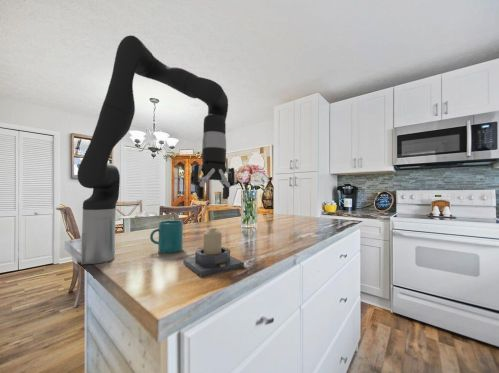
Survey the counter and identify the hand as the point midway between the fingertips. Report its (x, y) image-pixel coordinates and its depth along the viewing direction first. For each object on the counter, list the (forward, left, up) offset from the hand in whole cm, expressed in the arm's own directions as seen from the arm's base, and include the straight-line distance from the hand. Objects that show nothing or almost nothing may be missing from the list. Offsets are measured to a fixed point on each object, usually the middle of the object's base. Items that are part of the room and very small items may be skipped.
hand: (213, 199), depth 70 cm
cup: (-7, +26, -21) cm, 34 cm away
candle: (0, 0, -20) cm, 20 cm away
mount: (0, 0, -21) cm, 21 cm away
